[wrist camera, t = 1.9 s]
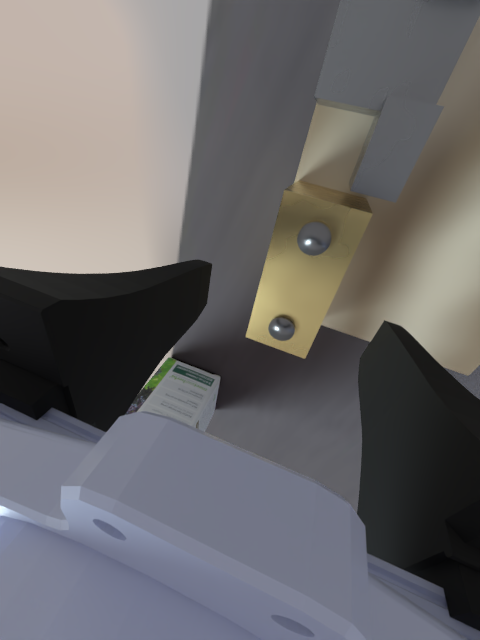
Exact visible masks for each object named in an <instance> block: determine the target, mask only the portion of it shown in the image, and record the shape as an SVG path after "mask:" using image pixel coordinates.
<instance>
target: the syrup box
mask: <svg viewBox="0 0 480 640" xmlns="http://www.w3.org/2000/svg"><path fill="white" fill-rule="evenodd" d="M220 378H221V377H220V376H218V375H216V374H214V375H213V374H210V373H208V372H205V371H203V370H201V369H198V368H195V367H193V366H190V365H188V364H185V363H182V362H180V361H177V360H175V359H173V358H168V359H167V360H166V361H165V362H164V364H163V365H162V366H161V367H160V368H159V370H158V371H157V372H156V373H155V375H154V376H153V377H152V378H151V380H150V381H149V382H148V383H147V384H146V385H145V387H144V388H143V389H142V390H141V391H140V393H139V394H138V395H137V397H136V398H135V400H134V401H133V403H132V405H131V406H130V408H129V409H128V411H127V413H126V414H125V415H128V414H132V413H136V412H142V411H147V412H151V413H155V414H159V415H163V416H167V417H171V418H174V419H176V420H178V421H180V422H183V423H185V424H187V425H190V426H192V427H194V428H197V429H199V430H201V431H204V432H205V430H206V428H207V426H208V424H209V422H210V420H211V418H212V416H213V414H214V411H215V406H216V400H217V395H218V389H219V384H220Z"/></svg>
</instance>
